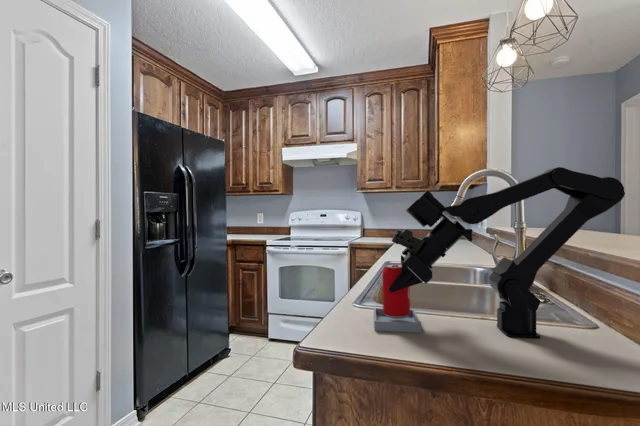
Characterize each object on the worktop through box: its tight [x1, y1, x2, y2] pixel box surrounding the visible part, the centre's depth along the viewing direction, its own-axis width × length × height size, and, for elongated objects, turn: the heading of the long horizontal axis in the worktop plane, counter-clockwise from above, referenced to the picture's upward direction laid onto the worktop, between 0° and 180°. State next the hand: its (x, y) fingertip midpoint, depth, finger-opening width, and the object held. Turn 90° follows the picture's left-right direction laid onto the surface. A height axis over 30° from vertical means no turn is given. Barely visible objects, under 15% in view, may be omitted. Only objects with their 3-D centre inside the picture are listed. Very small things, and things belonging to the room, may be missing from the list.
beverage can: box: [381, 262, 411, 319], centre depth 77 cm, size 6×6×12 cm
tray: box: [373, 307, 422, 334], centre depth 77 cm, size 10×10×2 cm
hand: (390, 287), depth 77 cm, fingers closed on beverage can, 6 cm apart
